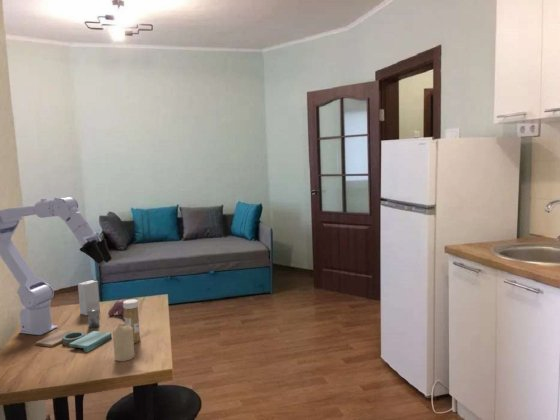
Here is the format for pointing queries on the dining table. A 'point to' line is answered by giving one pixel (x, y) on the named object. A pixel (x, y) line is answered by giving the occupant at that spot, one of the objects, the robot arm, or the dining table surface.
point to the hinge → (76, 339)
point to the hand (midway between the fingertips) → (105, 261)
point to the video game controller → (117, 308)
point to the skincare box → (88, 296)
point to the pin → (93, 318)
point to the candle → (123, 342)
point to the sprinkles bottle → (132, 317)
